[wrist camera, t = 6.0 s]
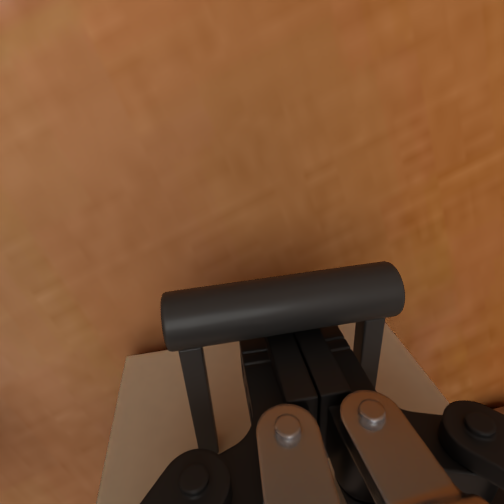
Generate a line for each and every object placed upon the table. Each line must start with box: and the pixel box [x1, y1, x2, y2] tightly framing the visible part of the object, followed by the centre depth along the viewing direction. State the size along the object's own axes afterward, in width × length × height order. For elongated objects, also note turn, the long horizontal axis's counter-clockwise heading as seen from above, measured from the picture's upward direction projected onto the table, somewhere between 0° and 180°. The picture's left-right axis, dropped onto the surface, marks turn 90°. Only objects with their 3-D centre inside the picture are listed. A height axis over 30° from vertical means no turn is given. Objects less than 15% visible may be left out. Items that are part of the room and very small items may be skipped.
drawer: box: [96, 261, 450, 504], centre depth 15 cm, size 20×12×8 cm, turn 3°
